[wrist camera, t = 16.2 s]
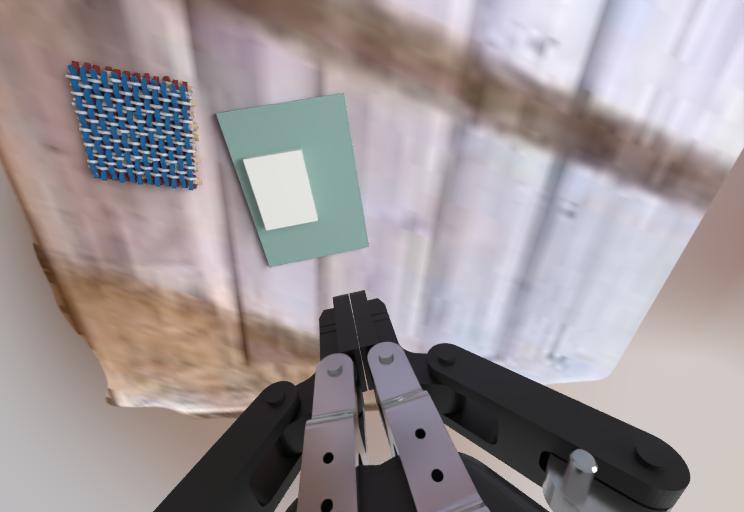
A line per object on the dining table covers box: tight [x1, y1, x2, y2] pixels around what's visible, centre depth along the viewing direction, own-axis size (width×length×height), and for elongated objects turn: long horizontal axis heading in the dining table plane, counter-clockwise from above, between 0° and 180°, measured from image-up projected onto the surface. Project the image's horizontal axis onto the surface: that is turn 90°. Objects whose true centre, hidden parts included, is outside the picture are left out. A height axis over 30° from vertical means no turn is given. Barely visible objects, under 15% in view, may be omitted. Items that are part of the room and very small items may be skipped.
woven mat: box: [65, 61, 202, 190], centre depth 30 cm, size 10×11×2 cm
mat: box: [216, 93, 369, 267], centre depth 35 cm, size 18×13×1 cm
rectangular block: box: [243, 148, 318, 231], centre depth 34 cm, size 6×2×8 cm
